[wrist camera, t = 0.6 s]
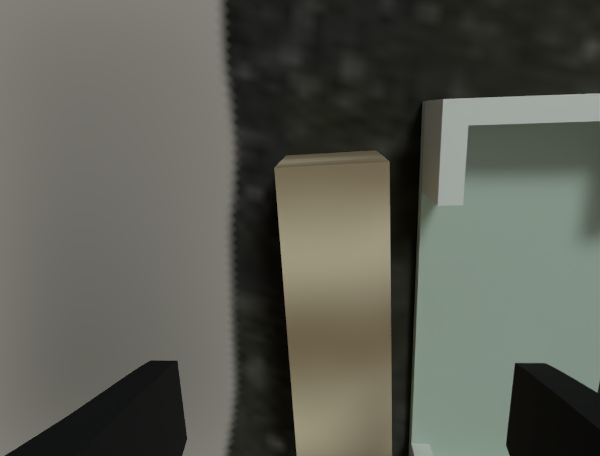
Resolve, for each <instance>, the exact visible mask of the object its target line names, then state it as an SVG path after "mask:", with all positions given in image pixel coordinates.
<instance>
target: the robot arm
mask: <svg viewBox="0 0 600 456" xmlns="http://www.w3.org/2000/svg"><path fill="white" fill-rule="evenodd" d="M186 440H187V436H186V427H185V419H184V411H183V403H182V395H181V387H180V379H179V371H178V362H177V361H149V362H147V363H146V364H144V365H142V366H141V367H139V368H138V369H136V370H134V371H133V372H132V373H130V374H128V375H127V376H126V377H124V378H123V379H121V380H120V381H118V382H117V383H115V384H114V385H112V386H111V387H110V388H108V389H107V390H105V391H104V392H102V393H101V394H99V395H98V396H96V397H95V398H94V399H92V400H91V401H89V402H88V403H86V404H85V405H83V406H82V407H80V408H79V409H78V410H76V411H74V412H73V413H72V414H70V415H69V416H67V417H66V418H64V419H62V420H61V421H59V422H58V423H56V424H54V425H53V426H51V427H50V428H48V429H47V430H45V431H43V432H42V433H40V434H39V435H37V436H36V437H34V438H32V439H31V440H29V441H28V442H26V443H25V444H23V445H21V446H20V447H18V448H17V449H15V450H14V451H12V452H10V453H8V454H7V455H5V456H182V454H183V451H184V447H185V444H186ZM506 447H507V450H508V452H509V455H510V456H600V394H599V393H597V392H595V391H594V390H592V389H590V388H589V387H587V386H585V385H584V384H582V383H580V382H579V381H577V380H575V379H574V378H572V377H570V376H568V375H567V374H565V373H563V372H561V371H560V370H558V369H556V368H554V367H552V366H550V365H548V364H546V363H515V367H514V376H513V385H512V394H511V403H510V412H509V421H508V430H507V439H506Z"/></svg>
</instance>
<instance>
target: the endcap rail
mask: <svg viewBox="0 0 600 456" xmlns="http://www.w3.org/2000/svg"><path fill="white" fill-rule="evenodd" d="M515 363H546V364H548V365H550V366H552V367H554V368H556V369H558V370H560V371H561V372H563V373H565V374H567V375H568V376H570V377H572V378H574V379H575V380H577V381H579V382H580V383H582V384H584V385H585V386H587V387H589V388H590V389H592V390H594V391H595V392H597V393H598V387H599V381H600V93H599V94H572V95H545V96H518V97H491V98H463V99H441V100H431V101H422V126H421V151H420V177H419V202H418V228H417V254H416V279H415V305H414V330H413V356H412V381H411V407H410V433H409V456H510V455H509V452H508V450H507V447H506V439H507V430H508V421H509V412H510V403H511V394H512V385H513V376H514V367H515Z"/></svg>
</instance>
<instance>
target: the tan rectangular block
mask: <svg viewBox="0 0 600 456" xmlns="http://www.w3.org/2000/svg"><path fill="white" fill-rule="evenodd" d="M274 170H275V183H276V196H277V209H278V222H279V234H280V247H281V260H282V273H283V286H284V299H285V312H286V325H287V337H288V350H289V363H290V376H291V389H292V402H293V415H294V428H295V441H296V453H297V456H392V395H391V266H390V161H388V160H387V159H386V158H385V157H384V156H382V155H381V154H380V153H379V152H377V151H360V152H342V153H325V154H307V155H289V156H285V157H284V158H283V159H282V160H281V161H280V163H279V164H278V165H277V166H276V167H275V168H274Z"/></svg>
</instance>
